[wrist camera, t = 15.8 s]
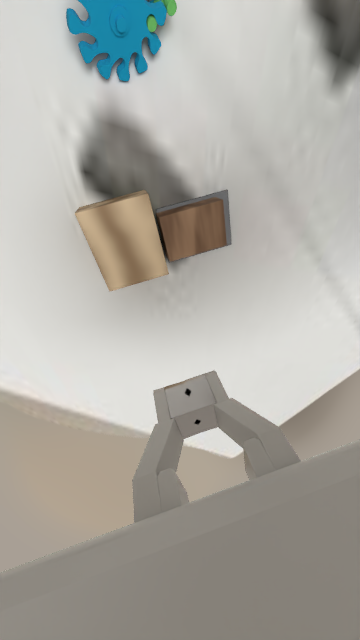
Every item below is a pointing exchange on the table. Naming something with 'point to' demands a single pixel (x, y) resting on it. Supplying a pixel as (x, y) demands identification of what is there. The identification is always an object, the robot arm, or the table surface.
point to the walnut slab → (193, 228)
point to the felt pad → (220, 195)
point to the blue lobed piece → (120, 31)
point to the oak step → (124, 239)
